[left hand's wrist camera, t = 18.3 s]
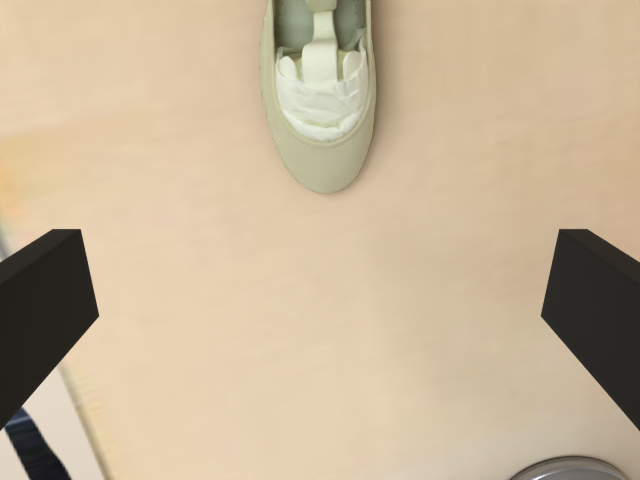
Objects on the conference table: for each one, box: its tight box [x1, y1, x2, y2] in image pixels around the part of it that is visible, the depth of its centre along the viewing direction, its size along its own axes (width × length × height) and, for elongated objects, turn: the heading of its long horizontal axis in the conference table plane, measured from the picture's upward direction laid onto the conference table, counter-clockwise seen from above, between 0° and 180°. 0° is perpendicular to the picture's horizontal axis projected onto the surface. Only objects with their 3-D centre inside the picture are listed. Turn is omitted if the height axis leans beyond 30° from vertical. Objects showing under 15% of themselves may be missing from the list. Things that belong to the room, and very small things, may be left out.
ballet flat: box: [260, 0, 376, 193], centre depth 28 cm, size 8×25×8 cm, turn 2°
